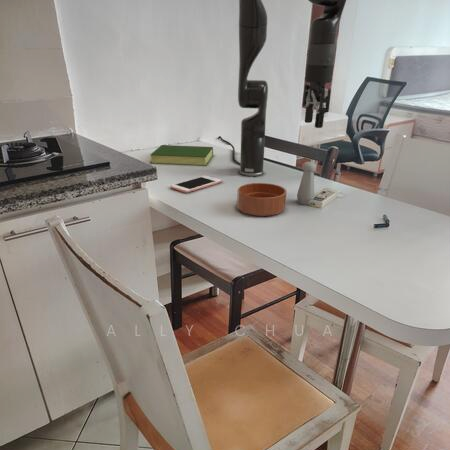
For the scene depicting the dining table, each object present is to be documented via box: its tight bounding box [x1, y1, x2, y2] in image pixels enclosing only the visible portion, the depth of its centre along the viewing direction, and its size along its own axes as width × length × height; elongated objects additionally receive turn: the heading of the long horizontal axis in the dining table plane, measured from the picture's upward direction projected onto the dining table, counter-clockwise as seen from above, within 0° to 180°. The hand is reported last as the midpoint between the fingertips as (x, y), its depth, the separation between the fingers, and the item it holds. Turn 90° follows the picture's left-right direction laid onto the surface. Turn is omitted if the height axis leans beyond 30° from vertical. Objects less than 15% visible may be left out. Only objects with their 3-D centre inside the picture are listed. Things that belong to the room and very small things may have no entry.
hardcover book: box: [150, 144, 214, 167], centre depth 184 cm, size 25×19×4 cm
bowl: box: [236, 182, 287, 217], centre depth 130 cm, size 15×15×6 cm
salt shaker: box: [296, 161, 317, 206], centre depth 133 cm, size 6×6×13 cm
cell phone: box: [170, 175, 222, 194], centre depth 151 cm, size 9×18×1 cm, turn 137°
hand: (313, 125), depth 123 cm, fingers open, 8 cm apart
